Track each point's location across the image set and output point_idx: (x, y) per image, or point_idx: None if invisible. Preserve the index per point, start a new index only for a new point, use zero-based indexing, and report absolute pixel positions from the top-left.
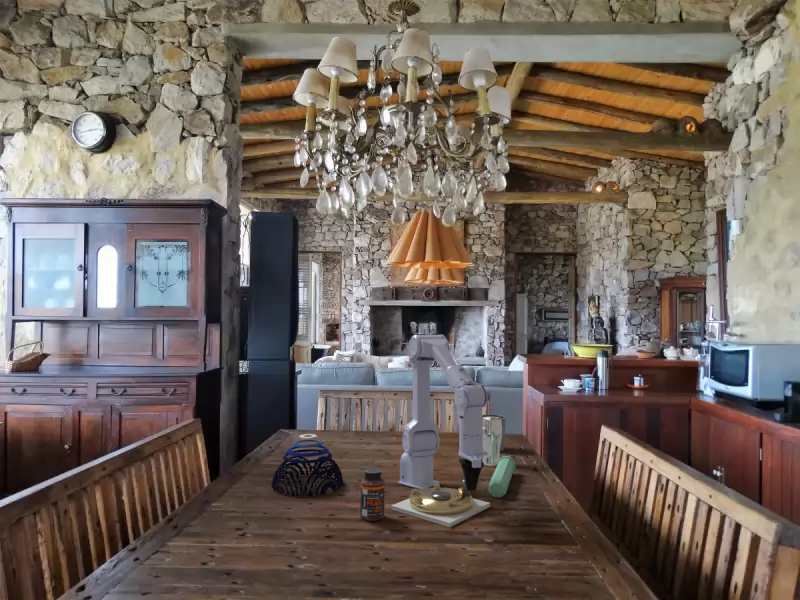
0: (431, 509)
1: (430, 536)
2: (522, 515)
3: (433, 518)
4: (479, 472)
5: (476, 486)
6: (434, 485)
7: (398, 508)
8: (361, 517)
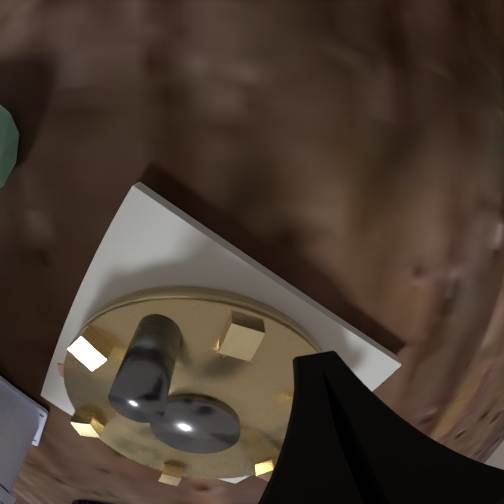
0: None
1: (435, 386)
2: (264, 21)
3: None
4: (438, 445)
5: (345, 365)
6: (95, 436)
7: None
8: None
